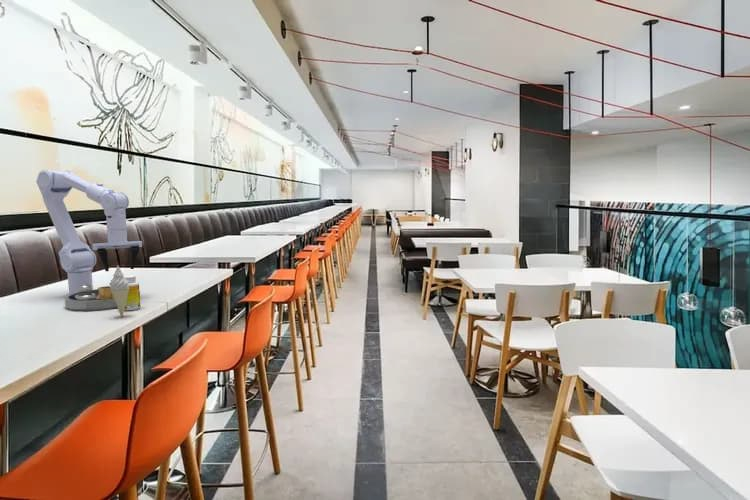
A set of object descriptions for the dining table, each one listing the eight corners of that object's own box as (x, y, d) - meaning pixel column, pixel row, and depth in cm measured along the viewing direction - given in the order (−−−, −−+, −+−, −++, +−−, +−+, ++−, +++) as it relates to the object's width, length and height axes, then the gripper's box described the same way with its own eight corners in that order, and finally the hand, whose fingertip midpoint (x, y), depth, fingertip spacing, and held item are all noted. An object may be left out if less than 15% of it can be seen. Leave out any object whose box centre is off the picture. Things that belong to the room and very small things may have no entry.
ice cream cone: (116, 314, 146) (112, 263, 144) (134, 313, 146) (131, 263, 144) (108, 318, 141) (105, 266, 139) (127, 318, 141) (123, 265, 139)
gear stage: (62, 302, 162) (60, 283, 161) (131, 294, 174) (130, 276, 174) (70, 314, 145) (68, 293, 144) (146, 304, 158) (145, 284, 157)
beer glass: (142, 309, 152) (140, 276, 150) (122, 312, 148) (120, 278, 147) (137, 306, 156) (135, 274, 155) (118, 308, 152) (116, 276, 151)
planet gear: (94, 304, 156) (93, 287, 155) (116, 301, 160) (114, 284, 159) (97, 307, 151) (96, 290, 150) (120, 304, 155) (118, 287, 154)
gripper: (94, 231, 156) (97, 273, 158) (143, 228, 165) (145, 269, 167) (90, 230, 162) (93, 270, 163) (138, 227, 171) (140, 266, 172)
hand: (119, 269), depth 166 cm, fingers open, 7 cm apart
